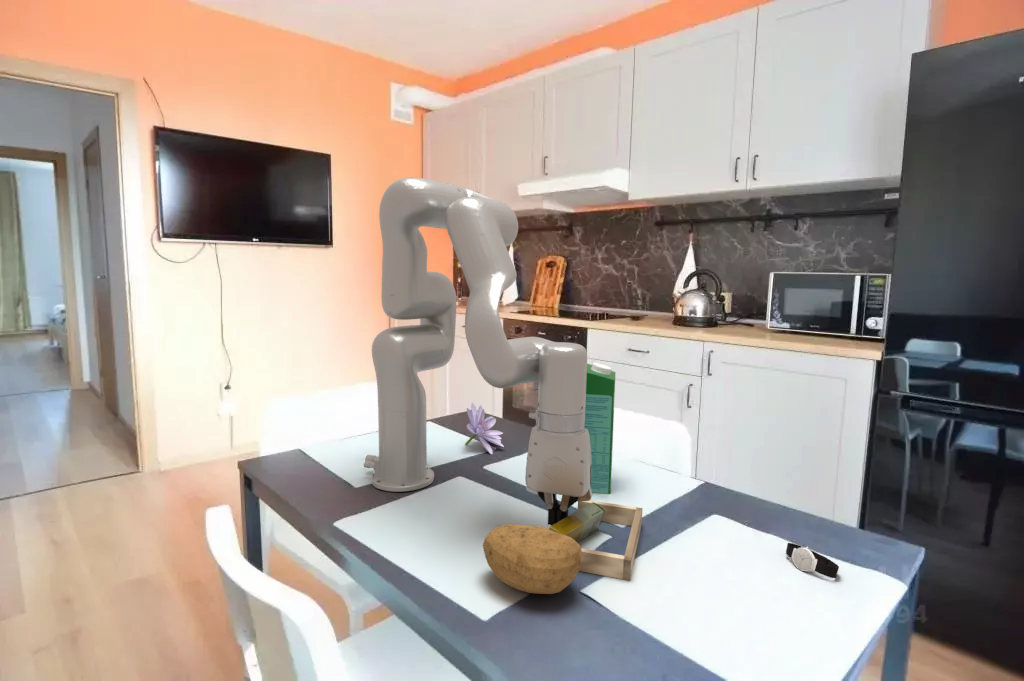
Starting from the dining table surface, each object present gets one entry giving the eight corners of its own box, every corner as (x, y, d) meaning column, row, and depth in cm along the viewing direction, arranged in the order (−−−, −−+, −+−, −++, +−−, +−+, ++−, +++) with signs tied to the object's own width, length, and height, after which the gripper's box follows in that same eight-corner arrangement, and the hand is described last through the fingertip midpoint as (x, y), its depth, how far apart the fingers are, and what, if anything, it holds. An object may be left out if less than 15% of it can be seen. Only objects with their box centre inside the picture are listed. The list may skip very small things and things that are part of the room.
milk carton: (610, 494, 105) (615, 368, 102) (564, 489, 107) (567, 365, 104) (611, 477, 114) (616, 360, 111) (568, 473, 116) (572, 358, 113)
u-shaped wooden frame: (553, 566, 79) (554, 546, 79) (578, 514, 96) (579, 498, 96) (629, 580, 76) (630, 560, 75) (641, 524, 93) (642, 508, 92)
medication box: (586, 519, 92) (594, 500, 91) (599, 529, 91) (606, 510, 89) (542, 545, 83) (550, 525, 82) (555, 556, 82) (563, 536, 80)
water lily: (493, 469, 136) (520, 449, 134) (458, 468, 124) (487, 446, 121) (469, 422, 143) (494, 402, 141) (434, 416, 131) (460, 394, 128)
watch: (777, 559, 83) (779, 536, 82) (798, 553, 84) (800, 531, 84) (824, 585, 76) (826, 561, 75) (846, 578, 78) (848, 554, 77)
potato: (501, 557, 82) (502, 506, 80) (590, 581, 75) (592, 527, 74) (467, 590, 73) (468, 534, 72) (565, 621, 67) (567, 560, 66)
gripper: (508, 421, 85) (506, 532, 87) (604, 432, 80) (599, 549, 82) (523, 410, 92) (520, 513, 94) (611, 419, 87) (606, 527, 89)
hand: (557, 529), depth 88 cm, fingers closed
